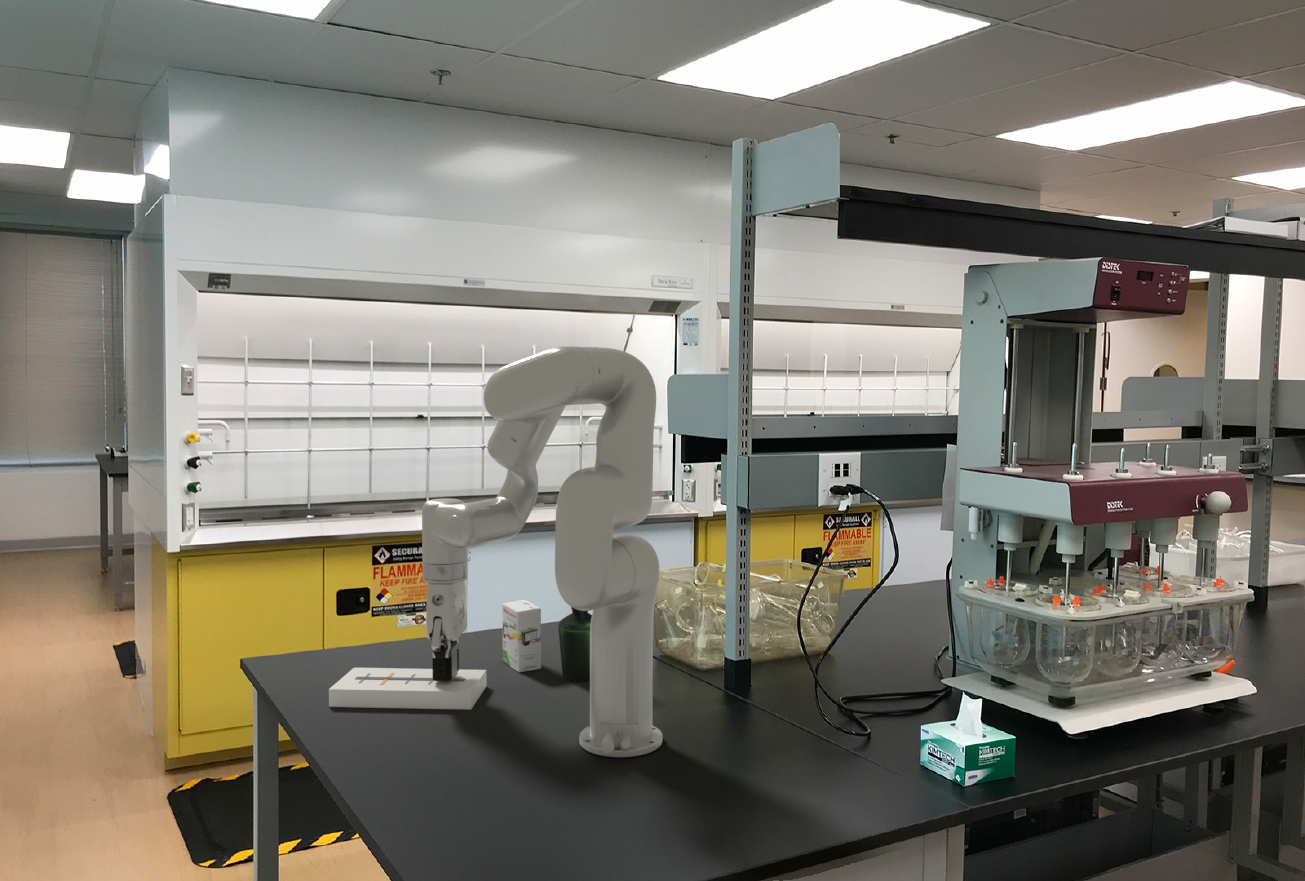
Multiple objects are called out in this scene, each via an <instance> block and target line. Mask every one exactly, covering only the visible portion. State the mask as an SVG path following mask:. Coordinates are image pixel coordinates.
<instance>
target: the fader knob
mask: <svg viewBox="0 0 1305 881" xmlns="http://www.w3.org/2000/svg"><path fill="white" fill-rule="evenodd" d="M441 644H442V645H444V647H445V648H446V643H441ZM457 649H458V648H457V643H450V657H452V679H451V680H450V681H453V679H454V678H455V677H456V675H457V674H458V671H457Z"/></svg>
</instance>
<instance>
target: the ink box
mask: <svg viewBox="0 0 1305 881" xmlns="http://www.w3.org/2000/svg"><path fill="white" fill-rule="evenodd" d="M501 608H502V662H503V663H505V664H506V665H507V666H509V667H510V668H512V669H513V670H515V671H516V672H518V673H522V672H530V671H536V670H540V669H542V609H541V607H539V606H537V605H536V604H534V603H532V602H530V601H528V600H526V599H520V600H519V599H518V600H514V601H510V602H509V601H508V602H503V603H502V607H501Z"/></svg>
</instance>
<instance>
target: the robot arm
mask: <svg viewBox="0 0 1305 881" xmlns="http://www.w3.org/2000/svg"><path fill="white" fill-rule="evenodd" d="M656 389H657V388H656V385H655V381H654V378H653V375H652V374H651V372H650V370H649V368H648V367H647V366H646V365H645V364H644V363H643V362H642V360H640V359H639V358H637V357H636V356H635V355H633V354H631V353H629V352H626V351H624V350H621V349H616V348H610V347H597V346H595V347H594V346H589V347H587V346H571V345H570V346H569V345H568V346H557V347H553V348H549V349H546V350H544V351H541V352H538V353H536V354H533V355H530V356H528V357H526V358H522V359H519V360H517V361H514V362H512V363H509V364H507V365H506V364H505V365H504V366H502V367H500V368H499V369H497V370H495V372H494V373H492V375H491V376H490V377H489V379H487V382H486V383H485V387H484V389H483V405H484V407H485V409H486V411H487V413H488V414H489V416H491V417H492V419H494V420H496V421H497V423H496V425H495V427H494V429H493V431H492V433H491V435H490V437H489V439H488V441H487V452H488V454H489V456H490V457H491V458H492V459H493V461H495V463H497V464H499V465H500V466H501V467H502V468H504V469H505V470H507V473H506V477H505V480H504V482H503V484H502V487H501V488H500V490H499V492H498V493H497V495H496V497H495V498H488V499H481V500H476V501H470V502H465V501H463V500H461V499H458V498H449V497H448V498H447V497H446V498H433V499H429V500H427V501H425V502H424V503H423V506H422V507H421V508H422V509H421V538H422V539H421V541H422V542H421V543H422V545H421V546H422V549H421V552H422V553H421V554H422V558H421V559H422V582H424V583H426V584H427V589H426V608H425V610H426V612H425V613H426V614H425V617H426V618H425V620H426V621H425V626H426V628H425V629H426V638H427V639H428V640H429V641H430V642H431V644H430V645H431V649H432V650H431V652H432V654H431V657H432V658H431V659H432V669H433V680H434V681H450V680H451V679H452V657H450V643H457V671H458V670H459V669H460V651H459V650H460V649H459V637H460V636H462V634H463V633H464V632H465V631H466V630H467V627H468V612H467V611H468V610H467V609H468V607H467V592H466V591H467V590H466V584H465V583H466V582H465V581H467V580H468V550H469V549H475V548H480V547H484V546H488V545H493V544H497V543H502V542H507V541H510V540H511V539H513V538H514V537H516V536H517V535H518V534H519V533H520V532H521V530H522V529H523V527H524V526H525V525H526V523H527V520H528V518H529V517H530V515H531V513H532V511H533V509H534V507H535V505H536V502H537V498H538V494H539V476H538V475H539V474H538V471H537V467H536V466H537V463H538V461H539V460H540V459H539V458H540V457H541V455H542V453H543V452H544V450H545V447H546V446H547V443H548V441H549V440H550V437H551V435H552V433H553V431H554V430H555V428H556V426H557V423H558V422H559V420H560V418H561V417H562V414H563V412H564V411H565V410H564V409H565V408H566V406H577V405H581V406H582V405H595V404H596V405H597V404H598V405H599V404H600V405H603V406H604V407H605V411H604V413H603V414H602V417H601V419H600V422H599V425H598V428H597V432H596V444H595V445H596V454H595V464H594V466H591V467H585V468H580V469H578V470H576V471H574V472H573V473H571V474H570V475H569V476H568V477H567V478H566V479H565V481H564V482H563V483H562V485H561V486H560V489H559V491H558V492H559V493H558V495H557V499H556V504H555V505H556V506H555V528H554V530H555V532H554V533H555V534H554V535H555V536H554V537H555V538H554V539H555V540H554V541H555V542H554V576H555V582H556V583H555V584H556V587H557V590H558V592H559V595H560V596H561V598H562V600H563V601H564V602H565V603H566V604H567V605H568V606H569V607H570V608H571V607H572V608H574V609H577V610H582V611H588V612H589V611H592V613H591V615H592V618H591V625H590V680H589V726H586V727H584V728H583V730H581V731H580V733H579V736H578V737H579V745H580V746H581V747H582V748H583V749H584V750H585V751H587V752H589V753H591V754H594V755H598V756H602V757H609V758H631V757H639V756H643V755H647V754H649V753H652V752H653V751H656V750H657V749H659V748H660V747H661V746H662V743H663V737H664V736H663V733H662V731H661V730H660V729H659V728H658V727H656V726H655V725H653V692H654V691H653V684H654V683H653V682H654V681H653V679H654V678H653V677H654V676H653V673H654V672H653V671H654V670H653V669H654V666H653V664H654V661H653V660H654V658H653V656H654V654H653V651H654V645H653V644H654V643H653V642H654V614H655V604H656V603H655V602H656V597H657V593H658V592H657V591H658V587H659V579H660V563H659V562H660V561H659V558H658V554H657V552H656V550H655V548H654V547H653V545H652V544H651V543H650V542H649V541H648V540H646V539H644V538H643V537H642V536H639V535H635V534H627V533H626V534H617V535H614V534H613V533H614V531H615V530H619V529H620V530H621V529H625V528H627V527H632V526H636V525H637V524H640V523H641V522H643V521H645V519H646V518H647V516H648V515H649V513H650V512H651V508H652V503H653V485H654V483H653V480H654V432H655V422H656V411H657V410H656V409H657V390H656ZM441 643H446V648H445V647H444V645H442V644H441Z"/></svg>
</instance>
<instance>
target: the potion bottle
mask: <svg viewBox="0 0 1305 881" xmlns="http://www.w3.org/2000/svg"><path fill="white" fill-rule="evenodd" d="M570 609H571V612H572V613H570V614H568V615H567V616H565V617H563V618H562V619H561V620H560V621H559V623H558V624H557V629H558V639H559V649H560V650H559V651H560V662H561V673H562V677H563V678H564V679H566V680H569V681H573V682H581V681H582V682H583V681H584V682H585V681H590V625H591V618H592V613H589V611H582V610H577V609H574V608H572V607H571V606H570Z"/></svg>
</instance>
